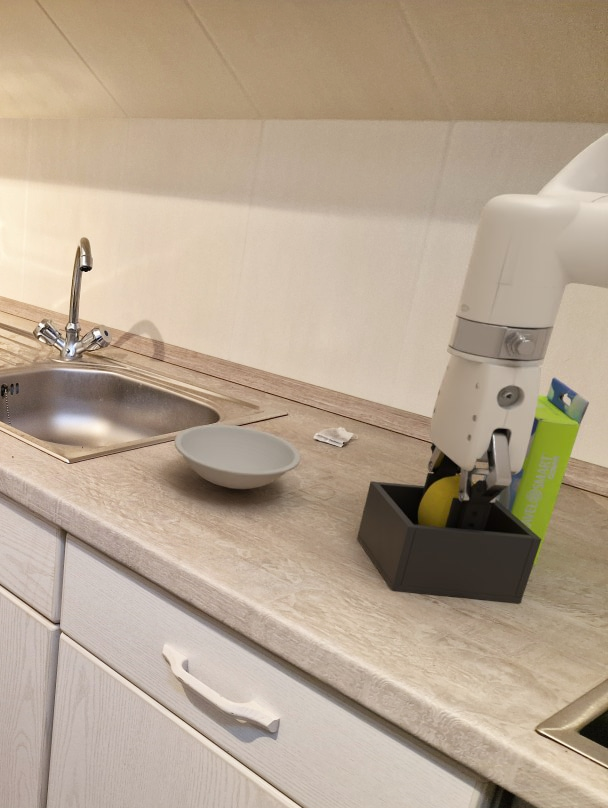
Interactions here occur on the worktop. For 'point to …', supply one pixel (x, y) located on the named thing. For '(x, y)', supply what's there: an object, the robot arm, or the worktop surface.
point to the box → (545, 459)
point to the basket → (445, 548)
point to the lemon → (438, 501)
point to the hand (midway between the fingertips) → (448, 523)
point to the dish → (236, 455)
